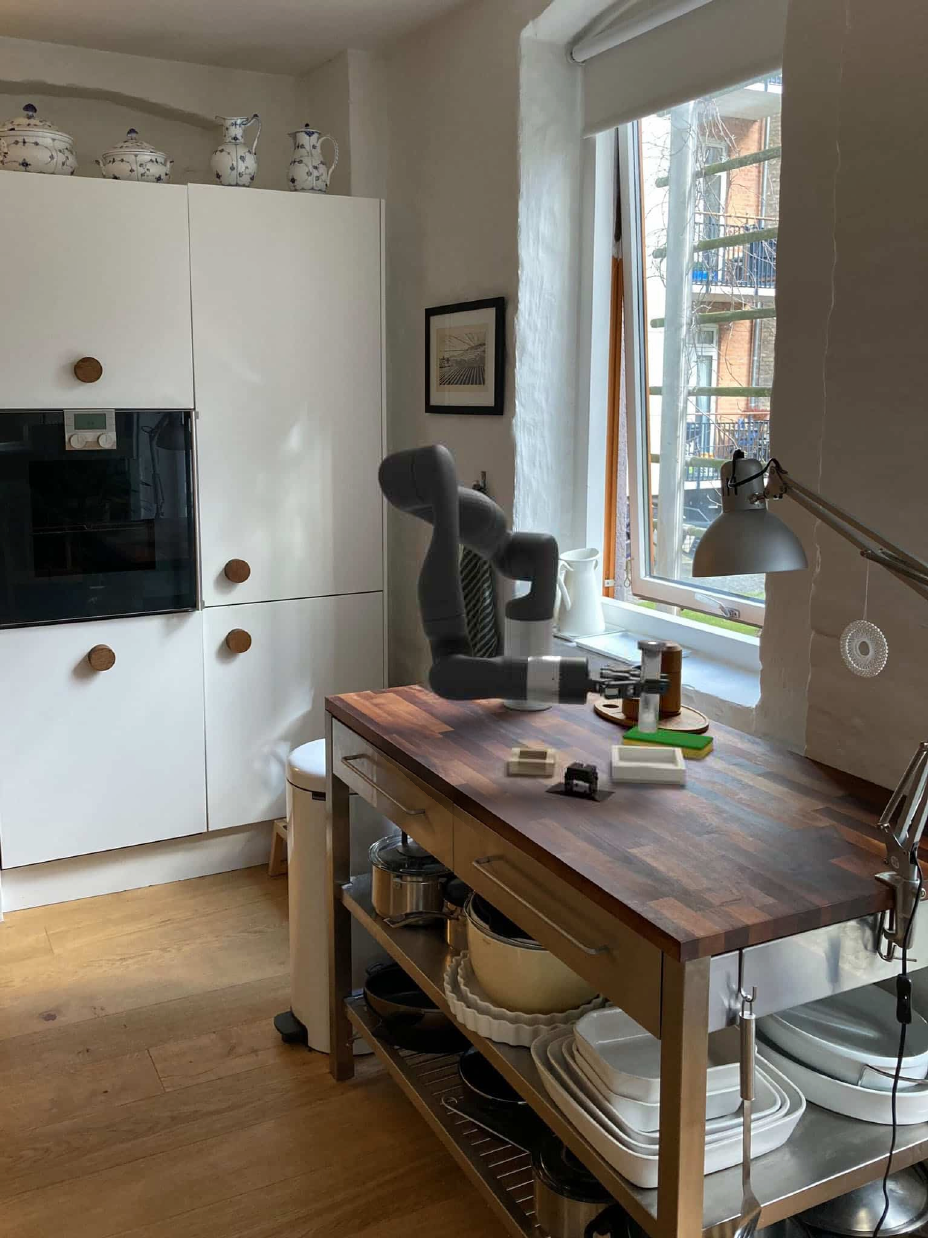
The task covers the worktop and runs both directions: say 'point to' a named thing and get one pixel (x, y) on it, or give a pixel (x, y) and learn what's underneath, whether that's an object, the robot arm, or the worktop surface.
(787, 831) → the worktop surface
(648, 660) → the pin
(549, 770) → the socket block
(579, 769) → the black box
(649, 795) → the worktop surface
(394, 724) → the worktop surface
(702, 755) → the dish sponge
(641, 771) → the dish
